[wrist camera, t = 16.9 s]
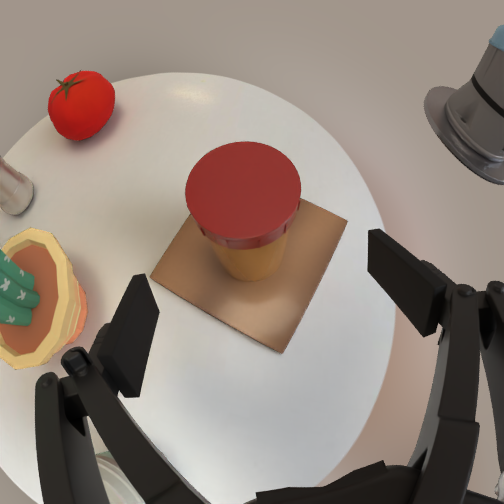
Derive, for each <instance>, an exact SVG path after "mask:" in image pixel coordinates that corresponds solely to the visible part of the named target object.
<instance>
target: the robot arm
mask: <svg viewBox="0 0 504 504" xmlns="http://www.w3.org/2000/svg"><path fill="white" fill-rule="evenodd" d="M445 113H446V116H447V118H448V120H449V122H450V124H451V126H452V127H453V129H454V130H455V131H456V133H457V134H458V135H459V136H460V137H461V139H462V140H463V141H464V142H465V143H466V144H467V145H468V146H469V147H471V148H472V149H473V150H474V151H475V152H477V153H478V154H480V155H481V156H483V157H484V158H486V159H488V160H490V161H493V162H502V161H504V25H500V26H499V27H498V28H497V29H496V31H495V33H494V35H493V36H492V38H491V39H490V40H489V46H488V47H487V50H486V51H485V53H484V55H483V57H482V59H481V61H480V63H479V65H478V67H477V68H476V70H475V72H474V74H473V76H472V78H471V79H470V81H469V82H467V83H466V84H465V85H463V86H462V87H461V88H459V89H458V90H457V91H455V92H454V93H453V94H452V95H451V96H450V97H449V98H448V100H447V102H446V104H445ZM367 271H368V272H369V273H370V275H371V276H372V277H373V278H374V279H375V280H376V281H377V282H378V284H379V285H380V286H381V287H382V288H383V289H384V291H385V292H386V293H387V294H388V295H389V296H390V298H391V299H392V300H393V301H394V302H395V303H396V305H397V306H398V307H399V308H400V309H401V311H402V312H403V313H404V314H405V315H406V317H407V318H408V319H409V320H410V321H411V323H412V324H413V325H414V326H415V328H416V329H417V330H418V331H419V333H420V334H421V335H422V336H423V337H426V336H428V335H431V334H433V333H436V329H437V325H438V323H439V324H440V325H441V326H442V327H443V328H442V332H441V335H440V338H439V341H438V345H439V351H438V358H437V364H436V369H435V374H434V379H433V384H432V389H431V393H430V398H429V402H428V406H427V410H426V414H425V417H424V421H423V424H422V428H421V432H420V435H419V438H418V441H417V444H416V447H415V450H414V452H413V455H412V457H411V459H410V461H409V463H408V465H407V466H402V465H390V466H385V463H384V461H383V460H382V461H379V462H377V463H375V464H371V465H368V466H366V467H363V468H360V469H357V470H354V471H352V472H350V473H349V474H347V475H345V476H343V477H342V478H340V479H338V480H336V481H334V482H332V483H330V484H328V485H326V486H324V487H287V488H281V489H276V490H269V491H262V492H256V497H257V498H256V499H253V500H251V501H248V502H246V503H244V504H504V283H502V282H500V281H491V282H489V283H488V285H487V289H486V291H478V292H476V290H475V289H474V288H473V287H471V286H469V285H466V284H458V285H457V284H455V283H454V282H453V281H452V280H451V279H450V278H448V277H447V276H446V275H445V274H444V273H442V272H441V271H440V270H439V269H437V268H436V267H435V266H434V265H433V264H432V263H429V262H427V261H425V260H421V261H420V260H419V259H417V258H416V257H415V256H414V255H412V254H411V253H410V252H409V251H408V250H406V249H405V248H404V247H403V246H401V245H400V244H399V243H397V242H396V241H395V240H394V239H392V238H391V237H390V236H388V235H387V234H386V233H385V232H383V231H382V230H381V229H373V230H368V270H367ZM159 313H160V311H159V309H158V307H157V304H156V301H155V299H154V296H153V294H152V291H151V288H150V286H149V283H148V280H147V278H146V275H145V273H144V274H139V275H134V276H133V277H132V279H131V281H130V283H129V285H128V287H127V289H126V291H125V293H124V295H123V297H122V299H121V301H120V303H119V306H118V308H117V310H116V312H115V314H114V316H113V318H112V321H111V323H105V324H104V326H103V327H102V328H101V329H100V330H99V332H98V334H97V336H96V338H95V340H94V342H93V343H94V344H93V345H92V347H91V349H90V351H89V354H88V353H87V352H86V350H85V349H84V348H83V347H74V348H72V349H70V350H68V351H67V352H66V353H65V354H64V355H63V356H62V359H61V365H62V366H63V368H64V369H65V371H66V372H67V373H68V375H69V376H67V377H64V378H61V379H59V378H58V376H57V375H56V374H55V373H53V372H48V373H45V374H43V375H42V376H41V377H40V378H39V379H38V381H37V382H36V386H35V434H36V450H37V461H38V470H39V478H40V485H41V491H42V497H43V502H44V504H110V502H109V499H108V496H107V493H106V490H105V487H104V484H103V481H102V477H101V474H100V471H99V467H98V464H97V460H96V456H95V452H94V448H93V444H92V440H91V435H90V431H89V426H88V421H87V416H89V417H90V419H91V421H92V422H93V424H94V426H95V428H96V430H97V432H98V433H99V435H100V437H101V438H102V440H103V442H104V444H105V445H106V447H107V449H108V450H109V452H110V453H111V455H112V456H113V458H114V460H115V461H116V463H117V464H118V466H119V467H120V469H121V470H122V472H123V473H124V474H125V476H126V477H127V479H128V480H129V482H130V483H131V484H132V486H133V487H134V488H135V490H136V491H137V492H138V494H139V495H140V496H141V497H142V499H143V500H144V502H145V504H211V503H210V502H209V501H208V500H206V499H205V498H204V497H203V496H202V495H201V494H200V493H199V492H198V491H197V490H196V489H195V488H194V487H193V486H192V485H191V484H190V483H189V482H188V481H187V480H186V479H185V478H184V477H183V476H182V475H181V474H180V473H179V472H178V471H177V470H176V469H175V468H174V467H173V466H172V465H171V463H170V462H169V461H168V460H167V459H166V458H165V457H164V456H163V455H162V453H161V452H160V451H159V450H158V449H157V448H156V446H155V445H154V444H153V443H152V442H151V440H150V439H149V438H148V437H147V436H146V434H145V433H144V432H143V431H142V429H141V428H140V427H139V425H138V424H137V423H136V422H135V420H134V419H133V418H132V416H131V415H130V414H129V412H128V411H127V409H126V408H125V407H124V405H123V404H122V402H121V401H120V400H119V398H118V397H117V396H118V392H119V390H120V392H121V393H122V395H123V396H124V397H125V398H134V397H140V392H141V387H142V383H143V378H144V373H145V369H146V365H147V360H148V356H149V352H150V348H151V344H152V340H153V336H154V332H155V328H156V324H157V320H158V317H159ZM480 352H481V356H482V360H483V364H484V368H485V372H486V377H487V381H488V386H489V391H490V396H491V402H492V408H493V415H494V422H495V430H496V438H497V439H496V440H497V451H498V460H499V466H500V471H501V475H500V478H499V481H498V484H497V485H496V487H495V494H496V495H497V496H498V497H497V499H494V498H491V497H488V496H484V495H482V494H479V493H476V492H473V491H470V490H467V486H468V483H469V479H470V475H471V471H472V467H473V462H474V458H475V453H476V448H477V442H478V437H479V428H480V425H479V423H478V422H475V414H476V407H477V396H478V384H479V364H480Z"/></svg>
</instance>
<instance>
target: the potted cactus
mask: <svg viewBox="0 0 504 504" xmlns="http://www.w3.org/2000/svg"><path fill="white" fill-rule="evenodd" d="M87 313H88V310H87V303H86V295H85V292H84V290H83V289H82V287H81V286H80V284H79V283H78V280H77V279H76V277H75V276H74V274H73V270H72V264H71V262H70V260H69V259H68V257H67V256H66V254H65V252H64V251H63V249H62V247H61V246H60V244H59V242H58V241H57V240H56V238H55V237H54V236H53V234H52V233H49V232H46V231H42V230H38V229H34V228H31V227H30V228H29V229H27V230H25V231H23V232H21V233H19V234H17V235H16V236H14V237H12V238H10V239H9V240H8V241H7V243H6V244H5V246H4V247H3V248H2V250H1V249H0V358H1V359H3V360H4V361H5V362H6V363H8V364H9V365H10V366H11V367H13V368H14V369H15V370H17V369H23V368H29V367H35V366H40V365H43V364H46V363H48V361H49V360H50V359H51V357H52V356H53V355H54V354H55V353H57V352H59V351H60V350H61V349H62V347H63V346H64V345H66V344H70V343H73V342H74V340H75V339H76V338H77V337H78V336H79V335H80V333H81V332H82V331H83V328H84V324H85V320H86V317H87Z"/></svg>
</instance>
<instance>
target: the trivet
mask: <svg viewBox="0 0 504 504" xmlns="http://www.w3.org/2000/svg"><path fill="white" fill-rule="evenodd" d="M300 200H301V202H300V206H299V210H297V214H296V217H295V219H294V221H293V223H292V224H291V226H290V231H289V236H288V241H287V246H286V252H285V256H284V260H283V262H282V264H281V266H280V267H279V269H278V270H277V271H276V272H275V273H274V274H273V275H271V276H270V277H268V278H266V279H264V280H261V281H257V282H244V281H240V280H237V279H235V278H233V277H231V276H230V275H228V274H227V273H226V272H225V271H224V270H223V268H222V267H221V265H220V263H219V261H218V259H217V257H216V255H215V253H214V251H213V249H212V247H211V245H210V243H209V241H208V239H207V237H206V236H203V234H202V232H201V231H200V230H199V228H198V227H197V225H196V223H195V221H194V219H193V217H192V215H191V214H190V215H189V217H188V218H187V220H186V221H185V223H184V224H183V226H182V227H181V229H180V230H179V232H178V233H177V235H176V236H175V238H174V239H173V241H172V242H171V244H170V245H169V247H168V248H167V250H166V251H165V253H164V255H163V256H162V258H161V259H160V261H159V262H158V264H157V266H156V267H155V269H154V270H153V272H152V274H151V275H150V278H151V279H153V280H154V281H156V282H157V283H159V284H161V285H162V286H164V287H165V288H167V289H169V290H170V291H172V292H173V293H175V294H177V295H178V296H180V297H181V298H183V299H185V300H186V301H188V302H190V303H191V304H193V305H195V306H196V307H198V308H200V309H201V310H203V311H205V312H206V313H208V314H210V315H212V316H213V317H215V318H217V319H218V320H220V321H222V322H224V323H225V324H227V325H229V326H231V327H233V328H234V329H236V330H238V331H240V332H242V333H243V334H245V335H247V336H249V337H251V338H253V339H254V340H256V341H258V342H260V343H262V344H264V345H266V346H268V347H269V348H271V349H273V350H275V351H277V352H279V353H281V354H283V352H284V350H285V349H286V347H287V345H288V343H289V341H290V339H291V338H292V336H293V334H294V332H295V330H296V328H297V326H298V324H299V322H300V321H301V319H302V317H303V315H304V313H305V311H306V309H307V307H308V305H309V303H310V301H311V299H312V297H313V295H314V293H315V291H316V289H317V287H318V285H319V283H320V281H321V279H322V277H323V275H324V273H325V270H326V268H327V266H328V264H329V262H330V260H331V258H332V256H333V253H334V251H335V249H336V247H337V245H338V242H339V240H340V238H341V236H342V234H343V231H344V229H345V227H346V224H347V222H348V221H347V220H345V219H343V218H341V217H339V216H337V215H335V214H333V213H331V212H329V211H327V210H325V209H323V208H321V207H319V206H316V205H314V204H312V203H310V202H308V201H306V200H304V199H302V198H300Z"/></svg>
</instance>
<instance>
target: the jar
mask: <svg viewBox="0 0 504 504" xmlns="http://www.w3.org/2000/svg"><path fill="white" fill-rule="evenodd" d="M289 231H290V228H289V229H288V230H287V231H286V234H285V233H284V234H283V235H282V236H281V237H280V238H278V239H277V240H275V241H274V242H272V243H270V244H268V245H265V246H263V247H261V248H255V249H248V250H236V249H228V248H226V247H223V246H221V245H218V244H216V243H214V242H213V241H211V240H210V239H208V238H207V239H208V241H209V243H210V245H211V247H212V249H213V251H214V253H215V255H216V257H217V259H218V261H219V263H220V265H221V267H222V268H223V270H224V271H225V272H226V273H227V274H228V275H230V276H231V277H233V278H235V279H237V280H240V281H244V282H257V281H261V280H264V279H266V278H268V277H270V276H271V275H273V274H274V273H275V272H276V271H277V270H278V269H279V267H280V266H281V264H282V262H283V260H284V256H285V252H286V246H287V241H288V236H289Z"/></svg>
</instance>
